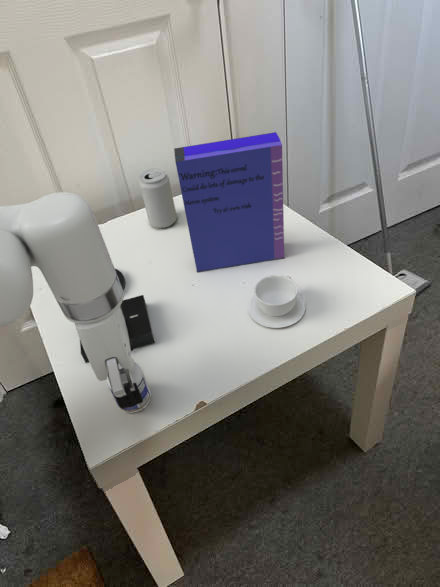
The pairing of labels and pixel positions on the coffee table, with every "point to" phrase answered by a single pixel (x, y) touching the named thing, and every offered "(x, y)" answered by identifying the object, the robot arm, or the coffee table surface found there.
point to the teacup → (276, 302)
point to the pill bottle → (142, 386)
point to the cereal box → (233, 200)
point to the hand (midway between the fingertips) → (127, 376)
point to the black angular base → (134, 323)
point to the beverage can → (158, 198)
